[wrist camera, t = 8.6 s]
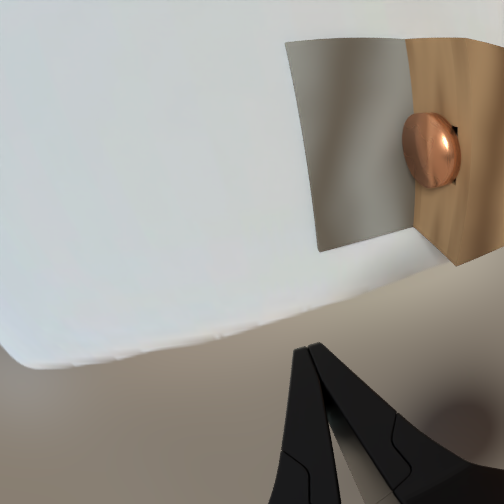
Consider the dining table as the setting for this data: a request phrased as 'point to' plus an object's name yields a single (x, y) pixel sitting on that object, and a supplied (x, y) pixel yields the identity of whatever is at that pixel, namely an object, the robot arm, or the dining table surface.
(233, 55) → the dining table surface
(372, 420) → the robot arm
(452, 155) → the pin
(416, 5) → the dining table surface
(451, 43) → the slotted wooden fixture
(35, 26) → the dining table surface
